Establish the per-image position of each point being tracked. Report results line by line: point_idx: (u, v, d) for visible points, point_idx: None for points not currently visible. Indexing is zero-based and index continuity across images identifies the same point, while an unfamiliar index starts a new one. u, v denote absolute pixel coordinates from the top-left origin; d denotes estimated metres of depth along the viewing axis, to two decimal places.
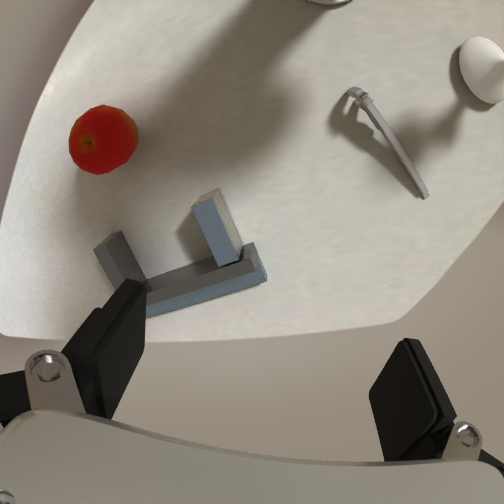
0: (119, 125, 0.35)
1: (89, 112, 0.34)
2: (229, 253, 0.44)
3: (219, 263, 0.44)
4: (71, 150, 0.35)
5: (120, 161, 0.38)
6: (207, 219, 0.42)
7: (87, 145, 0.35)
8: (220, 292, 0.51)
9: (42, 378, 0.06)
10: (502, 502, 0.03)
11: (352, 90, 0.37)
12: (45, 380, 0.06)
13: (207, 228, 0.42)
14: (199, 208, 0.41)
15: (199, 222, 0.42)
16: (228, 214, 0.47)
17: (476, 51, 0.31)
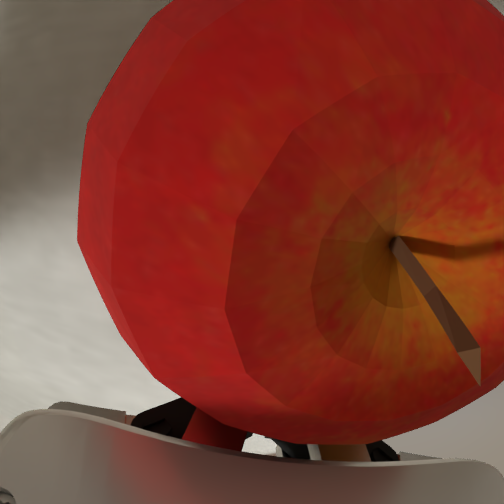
0: None
1: None
2: None
3: None
4: None
5: None
6: None
7: (442, 256, 0.03)
8: None
9: None
10: (502, 502, 0.03)
11: None
12: None
13: None
14: None
15: None
16: None
17: None
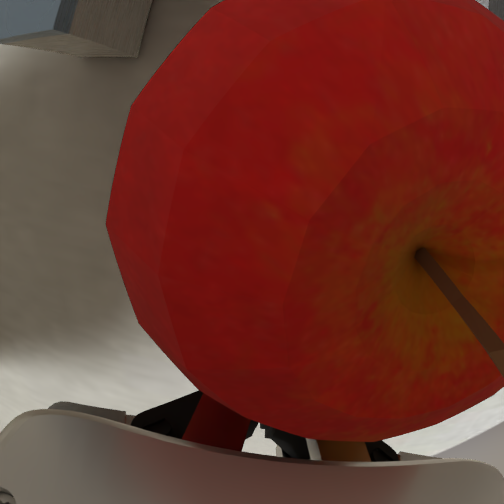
0: None
1: None
2: None
3: None
4: None
5: None
6: None
7: (463, 269, 0.03)
8: None
9: None
10: (502, 502, 0.03)
11: None
12: None
13: None
14: (33, 14, 0.05)
15: None
16: None
17: None
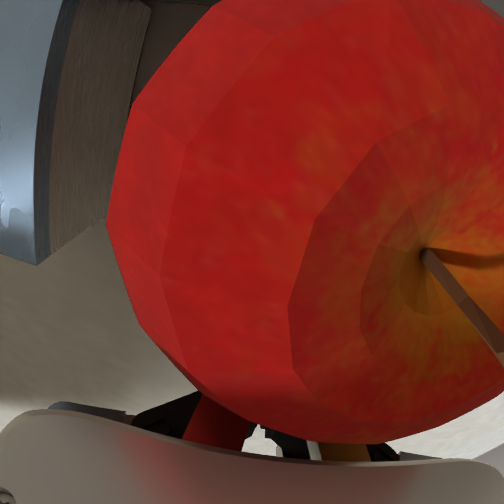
0: None
1: None
2: (10, 8, 0.05)
3: None
4: None
5: None
6: (2, 184, 0.07)
7: (467, 269, 0.03)
8: None
9: None
10: (502, 502, 0.03)
11: None
12: None
13: (14, 147, 0.07)
14: (13, 241, 0.08)
15: (28, 190, 0.07)
16: None
17: None
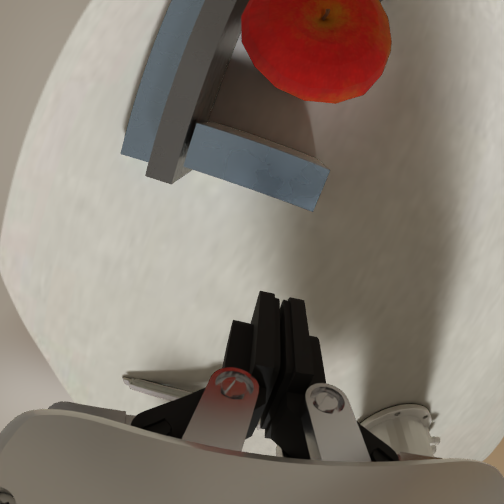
0: (291, 84, 0.16)
1: (373, 71, 0.14)
2: (204, 160, 0.20)
3: (200, 129, 0.19)
4: None
5: (242, 26, 0.15)
6: (289, 176, 0.20)
7: (325, 10, 0.13)
8: (152, 67, 0.21)
9: (223, 392, 0.07)
10: (502, 502, 0.03)
11: None
12: (225, 395, 0.07)
13: (275, 163, 0.20)
14: (316, 180, 0.20)
15: (295, 159, 0.20)
16: None
17: None
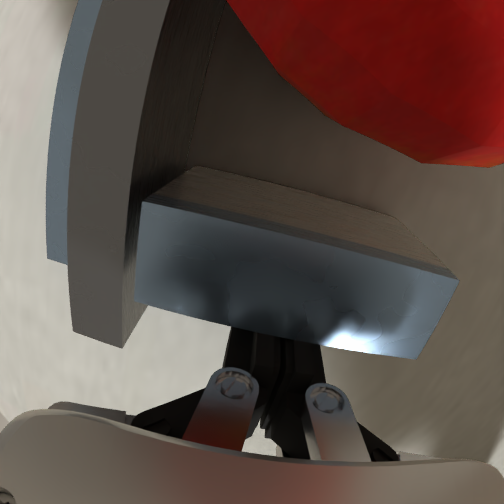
0: (412, 127, 0.04)
1: None
2: (178, 288, 0.09)
3: (154, 216, 0.08)
4: None
5: None
6: (377, 306, 0.08)
7: None
8: (64, 99, 0.11)
9: (224, 391, 0.07)
10: (502, 502, 0.03)
11: None
12: (225, 394, 0.07)
13: (347, 282, 0.08)
14: (431, 305, 0.08)
15: (394, 269, 0.08)
16: None
17: None
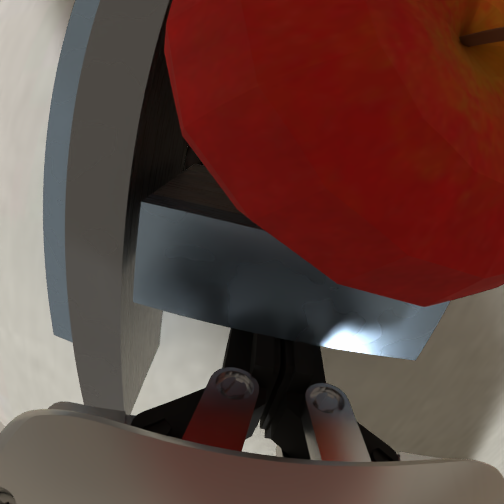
0: None
1: None
2: (177, 289, 0.09)
3: (153, 216, 0.08)
4: None
5: (171, 86, 0.05)
6: (377, 308, 0.08)
7: (477, 6, 0.02)
8: (52, 210, 0.12)
9: (224, 391, 0.07)
10: (502, 502, 0.03)
11: None
12: (225, 394, 0.07)
13: None
14: (431, 307, 0.08)
15: None
16: None
17: None
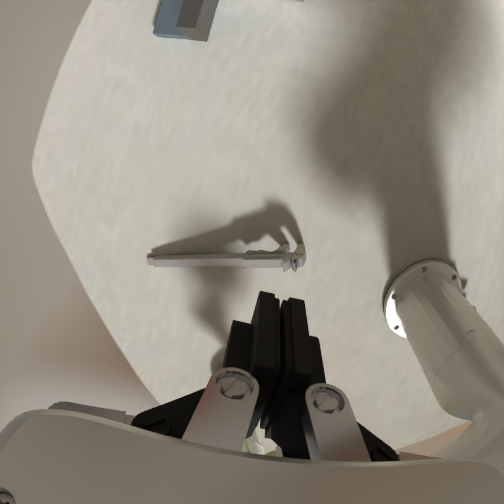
0: None
1: None
2: None
3: None
4: None
5: None
6: None
7: None
8: None
9: (223, 391, 0.07)
10: (502, 502, 0.03)
11: (304, 254, 0.36)
12: (225, 395, 0.07)
13: None
14: None
15: None
16: None
17: None
